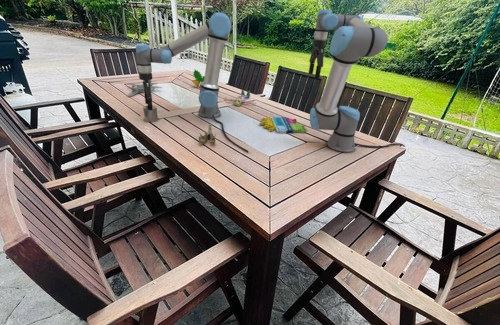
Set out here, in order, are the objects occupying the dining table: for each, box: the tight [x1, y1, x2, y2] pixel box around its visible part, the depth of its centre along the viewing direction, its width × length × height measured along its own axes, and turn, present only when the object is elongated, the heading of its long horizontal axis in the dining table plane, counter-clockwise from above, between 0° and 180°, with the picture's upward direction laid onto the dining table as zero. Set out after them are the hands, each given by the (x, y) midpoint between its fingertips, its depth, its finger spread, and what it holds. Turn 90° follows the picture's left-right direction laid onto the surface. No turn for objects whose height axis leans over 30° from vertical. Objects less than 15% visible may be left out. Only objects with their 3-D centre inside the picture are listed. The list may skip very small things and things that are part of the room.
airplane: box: [126, 80, 163, 98], centre depth 227 cm, size 38×31×10 cm
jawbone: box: [198, 123, 217, 146], centre depth 145 cm, size 9×15×10 cm
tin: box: [142, 105, 159, 123], centre depth 169 cm, size 8×8×8 cm
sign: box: [259, 116, 307, 134], centre depth 176 cm, size 26×2×30 cm
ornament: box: [191, 69, 205, 89], centre depth 252 cm, size 21×8×15 cm, turn 105°
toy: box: [223, 89, 257, 106], centre depth 219 cm, size 28×7×30 cm
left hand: (149, 106), depth 167 cm, fingers open, 13 cm apart
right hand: (313, 76), depth 167 cm, fingers open, 13 cm apart
